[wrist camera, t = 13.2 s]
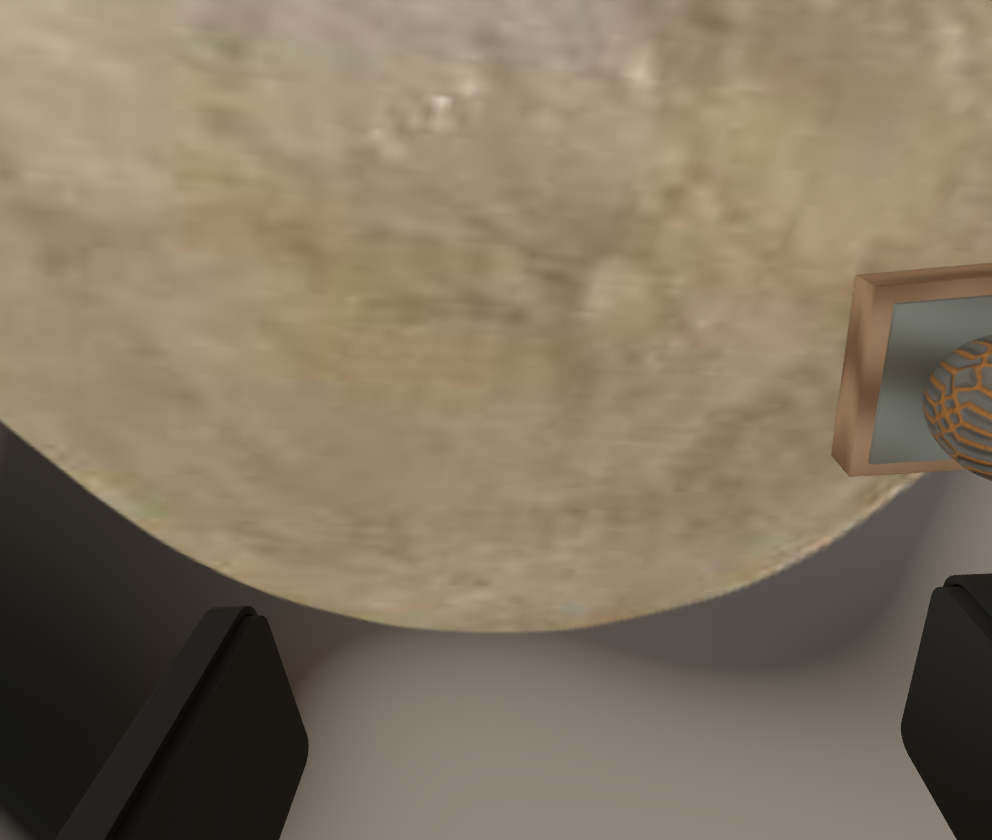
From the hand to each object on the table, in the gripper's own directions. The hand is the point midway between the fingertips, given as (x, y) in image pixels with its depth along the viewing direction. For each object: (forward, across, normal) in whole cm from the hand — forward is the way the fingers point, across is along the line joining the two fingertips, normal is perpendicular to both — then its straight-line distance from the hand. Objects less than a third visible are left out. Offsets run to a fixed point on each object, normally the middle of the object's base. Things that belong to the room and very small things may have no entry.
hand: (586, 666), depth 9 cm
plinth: (+28, -22, +8) cm, 36 cm away
